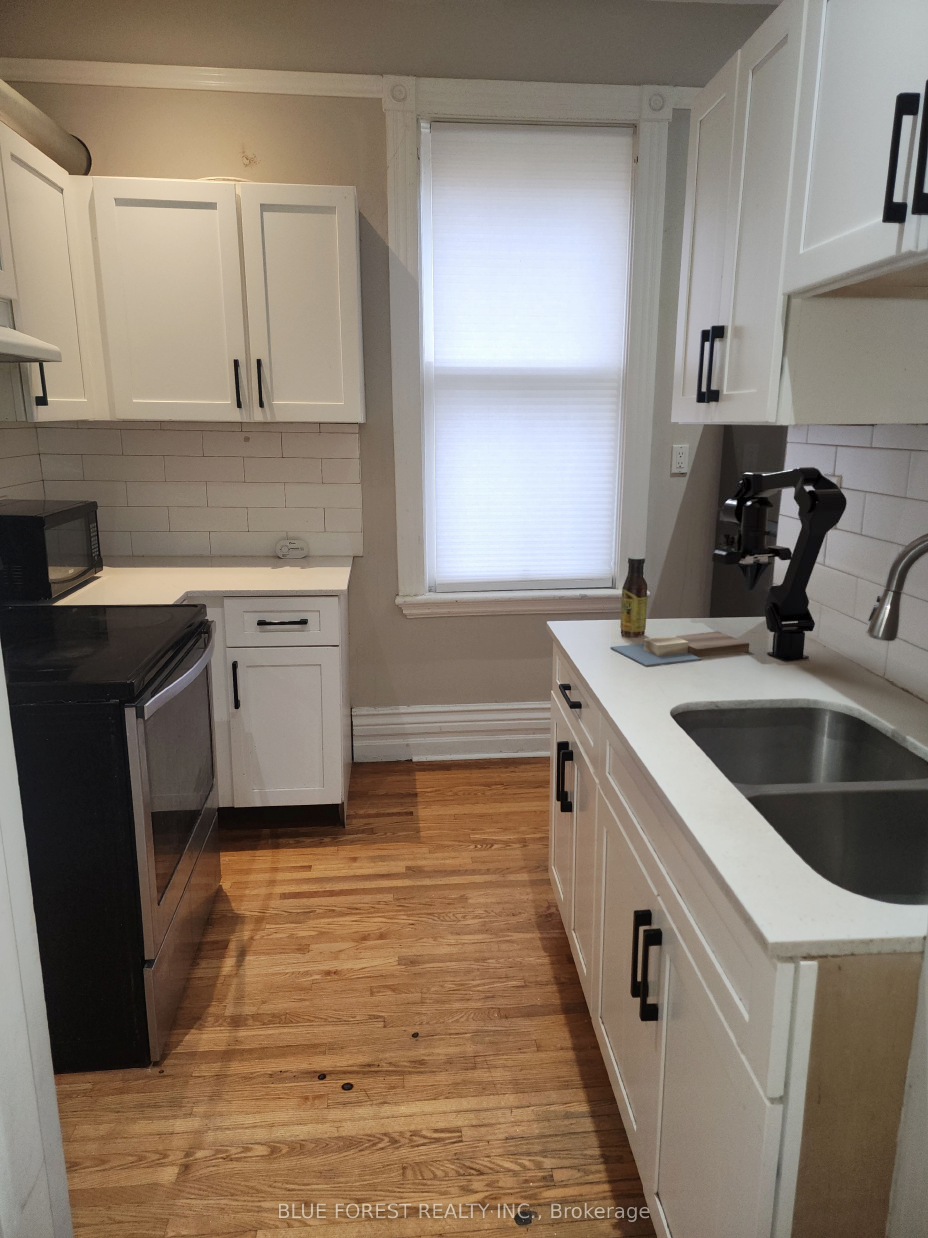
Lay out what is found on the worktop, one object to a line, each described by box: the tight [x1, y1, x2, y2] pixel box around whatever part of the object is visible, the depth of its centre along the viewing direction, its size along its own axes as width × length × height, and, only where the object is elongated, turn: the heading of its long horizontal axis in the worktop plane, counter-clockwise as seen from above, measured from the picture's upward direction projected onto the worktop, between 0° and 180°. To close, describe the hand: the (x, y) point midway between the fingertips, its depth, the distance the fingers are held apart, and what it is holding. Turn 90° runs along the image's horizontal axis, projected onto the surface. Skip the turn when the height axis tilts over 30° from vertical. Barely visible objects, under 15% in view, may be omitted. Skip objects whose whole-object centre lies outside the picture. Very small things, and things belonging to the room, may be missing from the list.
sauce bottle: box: [619, 555, 648, 638], centre depth 201 cm, size 7×6×20 cm
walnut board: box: [675, 630, 750, 658], centre depth 190 cm, size 12×14×2 cm
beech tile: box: [643, 635, 689, 656], centre depth 187 cm, size 6×8×2 cm
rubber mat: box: [610, 642, 702, 667], centre depth 186 cm, size 16×14×1 cm
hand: (749, 590), depth 196 cm, fingers closed
